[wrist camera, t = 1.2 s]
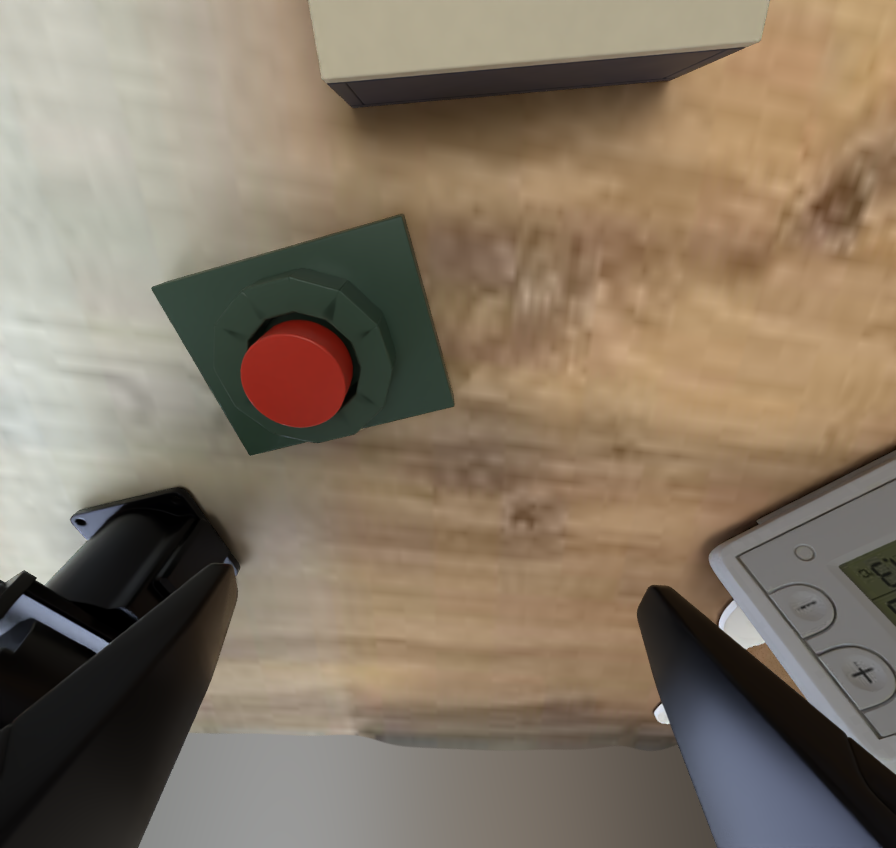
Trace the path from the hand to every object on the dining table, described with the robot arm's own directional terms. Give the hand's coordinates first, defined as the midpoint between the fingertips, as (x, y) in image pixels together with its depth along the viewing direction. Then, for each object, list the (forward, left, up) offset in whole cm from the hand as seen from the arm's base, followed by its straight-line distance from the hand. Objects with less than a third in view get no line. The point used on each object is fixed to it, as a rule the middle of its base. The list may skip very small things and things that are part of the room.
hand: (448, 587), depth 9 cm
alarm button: (-5, +3, -9) cm, 11 cm away
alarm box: (-5, +3, -12) cm, 13 cm away
